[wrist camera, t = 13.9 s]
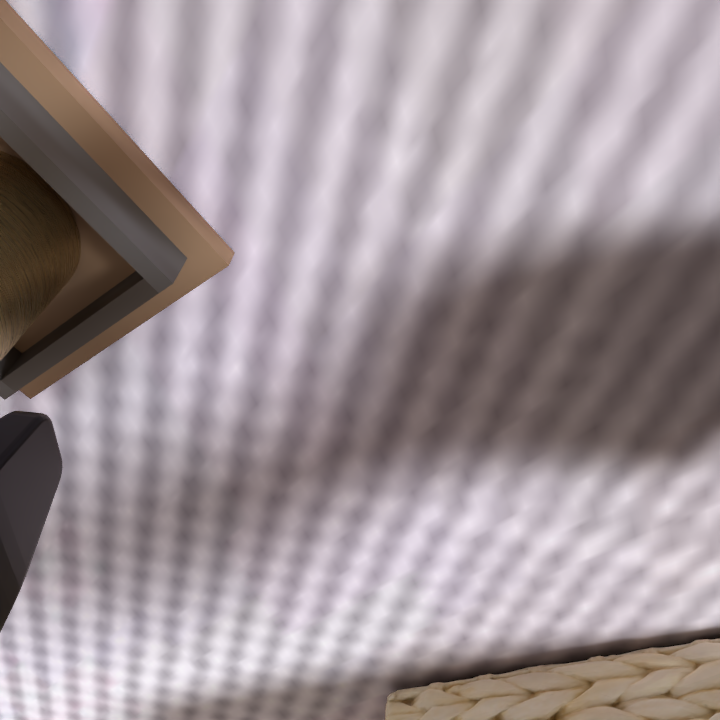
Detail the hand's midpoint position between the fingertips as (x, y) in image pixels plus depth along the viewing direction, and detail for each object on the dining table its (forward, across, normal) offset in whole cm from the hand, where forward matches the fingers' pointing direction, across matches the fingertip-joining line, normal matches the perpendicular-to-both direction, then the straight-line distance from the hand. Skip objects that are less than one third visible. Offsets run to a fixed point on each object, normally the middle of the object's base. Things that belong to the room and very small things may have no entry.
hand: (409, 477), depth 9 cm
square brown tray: (+13, +12, +4) cm, 18 cm away
